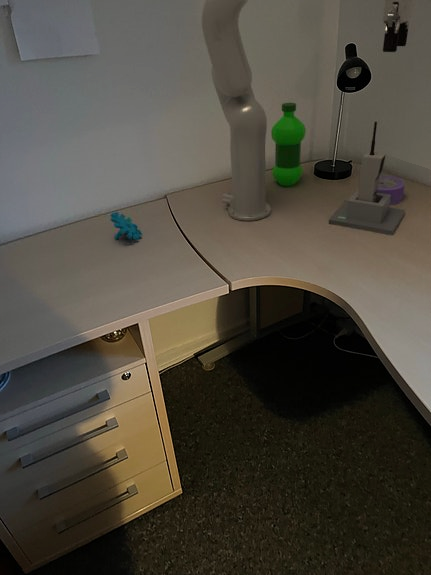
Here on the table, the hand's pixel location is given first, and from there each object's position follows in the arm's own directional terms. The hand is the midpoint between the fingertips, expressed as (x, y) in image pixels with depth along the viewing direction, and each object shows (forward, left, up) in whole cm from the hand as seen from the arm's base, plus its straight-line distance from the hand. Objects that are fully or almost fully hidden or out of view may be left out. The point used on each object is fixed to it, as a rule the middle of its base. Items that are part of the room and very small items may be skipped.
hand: (394, 48), depth 118 cm
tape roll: (+2, +1, -41) cm, 41 cm away
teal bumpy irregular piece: (-53, -52, -41) cm, 85 cm away
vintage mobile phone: (+2, -15, -39) cm, 42 cm away
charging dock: (+2, -15, -40) cm, 43 cm away
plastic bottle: (-29, +1, -40) cm, 50 cm away
